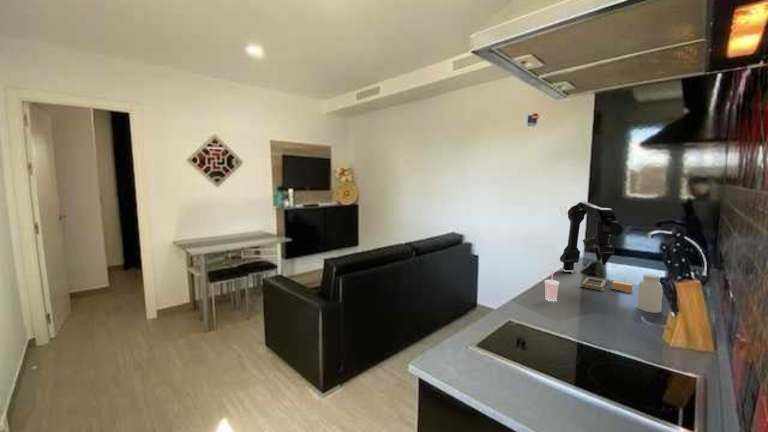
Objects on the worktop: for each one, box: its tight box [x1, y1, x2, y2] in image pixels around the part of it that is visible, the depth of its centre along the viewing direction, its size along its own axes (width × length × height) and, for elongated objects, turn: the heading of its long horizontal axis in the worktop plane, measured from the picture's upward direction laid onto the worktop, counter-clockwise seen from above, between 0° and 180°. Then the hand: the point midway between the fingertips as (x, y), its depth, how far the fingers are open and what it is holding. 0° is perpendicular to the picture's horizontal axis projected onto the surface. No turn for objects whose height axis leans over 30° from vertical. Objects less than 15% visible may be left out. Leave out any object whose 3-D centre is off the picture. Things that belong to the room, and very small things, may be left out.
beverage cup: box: [544, 270, 560, 303], centre depth 152 cm, size 6×6×14 cm
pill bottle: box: [637, 273, 664, 314], centre depth 140 cm, size 8×8×15 cm
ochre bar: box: [611, 280, 634, 294], centre depth 166 cm, size 8×4×4 cm, turn 49°
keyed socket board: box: [581, 277, 607, 292], centre depth 173 cm, size 16×10×2 cm, turn 139°
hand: (601, 262), depth 169 cm, fingers open, 9 cm apart
